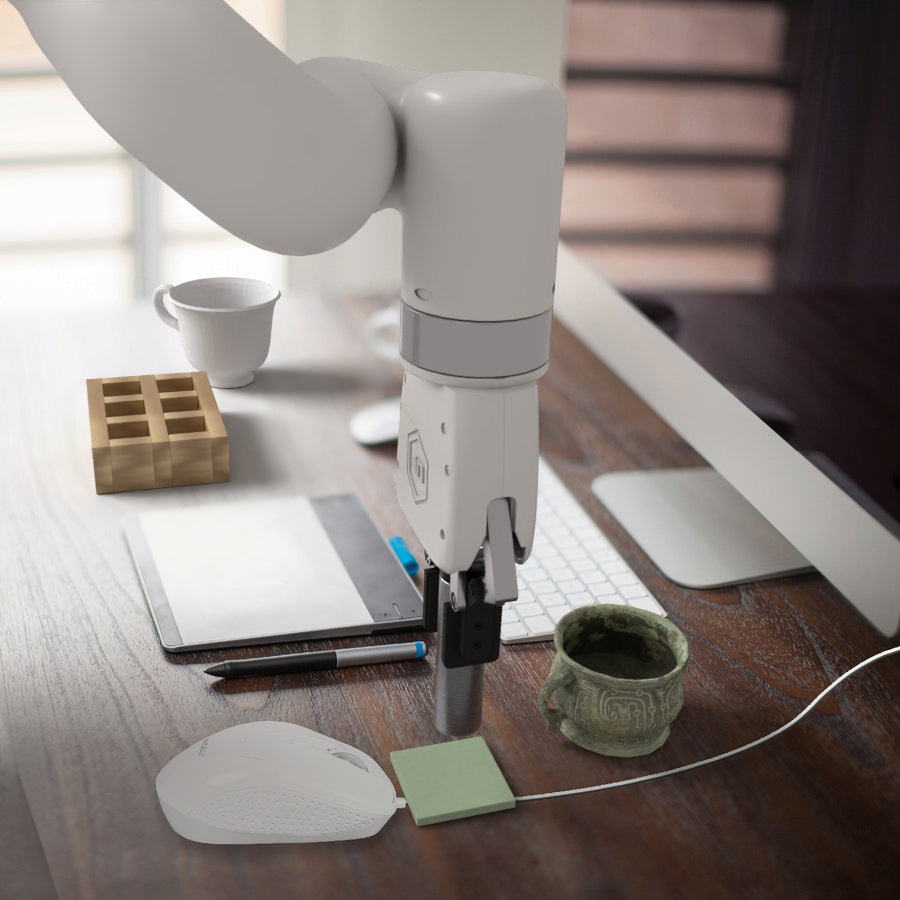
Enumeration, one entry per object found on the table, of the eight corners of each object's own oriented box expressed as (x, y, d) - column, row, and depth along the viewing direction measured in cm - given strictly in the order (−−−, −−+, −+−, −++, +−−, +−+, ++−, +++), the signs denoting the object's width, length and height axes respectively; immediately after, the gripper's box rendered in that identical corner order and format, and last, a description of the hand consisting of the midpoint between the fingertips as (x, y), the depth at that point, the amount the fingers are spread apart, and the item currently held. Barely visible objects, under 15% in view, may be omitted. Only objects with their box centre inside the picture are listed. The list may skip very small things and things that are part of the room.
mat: (417, 827, 65) (417, 819, 65) (389, 759, 70) (389, 751, 70) (515, 807, 67) (516, 799, 66) (481, 743, 72) (482, 735, 72)
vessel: (642, 661, 81) (652, 585, 78) (727, 733, 74) (741, 652, 71) (498, 707, 75) (504, 627, 73) (575, 790, 68) (584, 704, 66)
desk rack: (96, 494, 100) (91, 447, 98) (90, 420, 115) (86, 378, 113) (230, 481, 104) (228, 436, 102) (207, 411, 118) (205, 370, 116)
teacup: (188, 350, 135) (183, 268, 130) (301, 370, 130) (300, 285, 126) (128, 383, 124) (120, 295, 120) (248, 406, 120) (245, 315, 116)
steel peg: (441, 741, 65) (449, 574, 60) (427, 711, 67) (433, 549, 63) (488, 732, 66) (498, 567, 61) (472, 703, 68) (481, 543, 64)
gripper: (362, 291, 63) (360, 580, 70) (453, 401, 48) (439, 747, 56) (491, 284, 65) (475, 565, 72) (614, 387, 51) (578, 722, 58)
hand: (459, 642), depth 64 cm, fingers closed on steel peg, 2 cm apart
